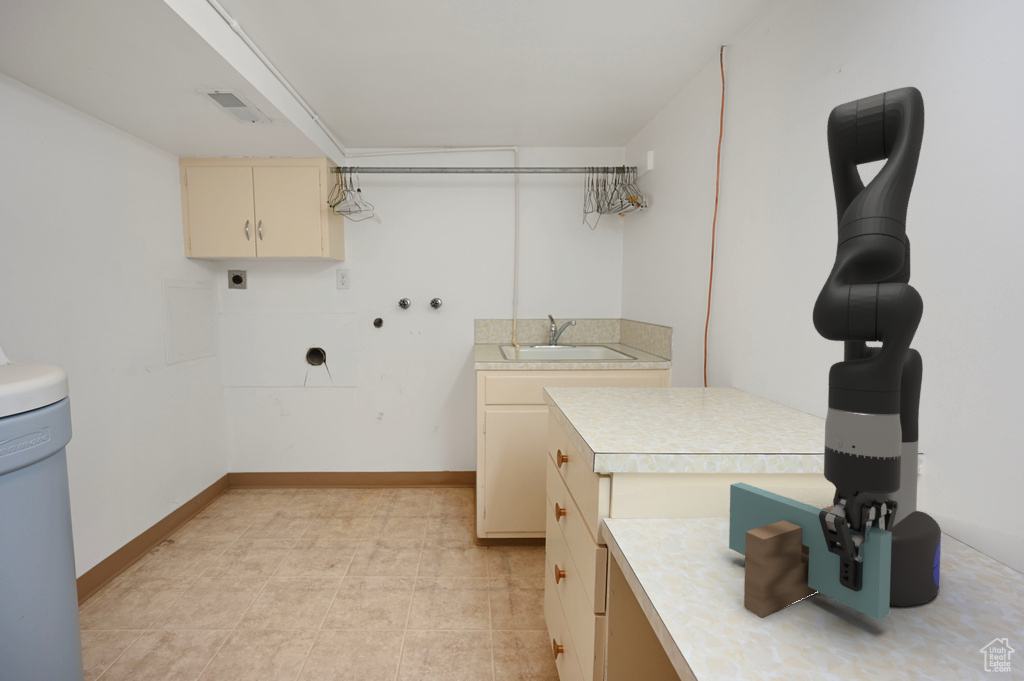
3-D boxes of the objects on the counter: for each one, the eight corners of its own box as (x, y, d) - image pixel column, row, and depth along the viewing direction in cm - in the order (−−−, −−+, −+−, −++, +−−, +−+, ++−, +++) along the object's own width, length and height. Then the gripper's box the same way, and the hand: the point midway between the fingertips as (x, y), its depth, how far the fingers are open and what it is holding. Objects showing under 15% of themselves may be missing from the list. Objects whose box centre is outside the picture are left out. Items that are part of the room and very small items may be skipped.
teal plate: (739, 544, 73) (741, 482, 73) (889, 614, 55) (891, 532, 55) (729, 548, 72) (730, 484, 72) (878, 620, 54) (880, 536, 54)
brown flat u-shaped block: (831, 571, 69) (833, 505, 69) (849, 579, 67) (851, 511, 67) (744, 607, 60) (745, 531, 60) (762, 618, 58) (763, 539, 58)
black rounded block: (918, 621, 58) (921, 547, 57) (873, 603, 61) (875, 533, 61) (951, 580, 67) (953, 516, 67) (911, 567, 71) (912, 506, 70)
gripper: (865, 461, 50) (861, 617, 51) (926, 447, 57) (922, 586, 57) (796, 445, 57) (793, 583, 57) (857, 434, 63) (854, 559, 64)
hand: (857, 584), depth 57 cm, fingers closed on teal plate, 2 cm apart
